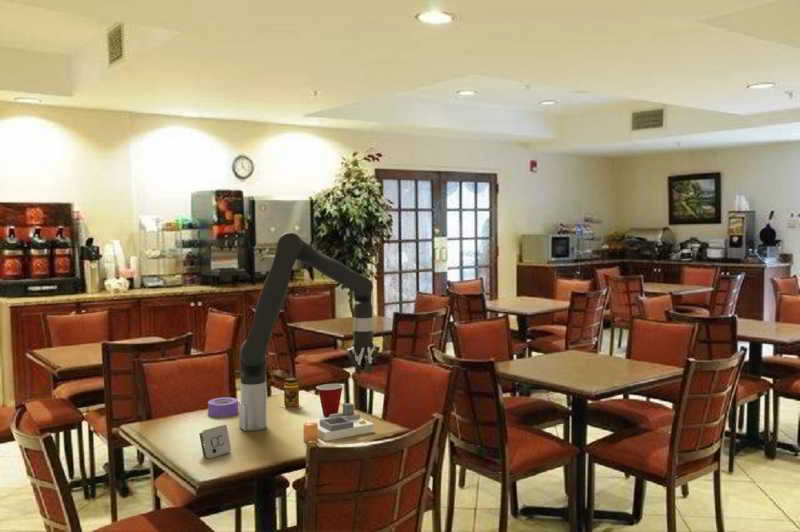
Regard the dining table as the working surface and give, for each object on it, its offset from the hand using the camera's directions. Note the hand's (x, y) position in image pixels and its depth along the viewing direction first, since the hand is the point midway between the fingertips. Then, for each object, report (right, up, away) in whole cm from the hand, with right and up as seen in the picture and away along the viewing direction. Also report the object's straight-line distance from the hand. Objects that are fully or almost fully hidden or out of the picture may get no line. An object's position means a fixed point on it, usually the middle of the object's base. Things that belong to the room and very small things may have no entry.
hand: (363, 373), depth 260 cm
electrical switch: (-47, -21, -35) cm, 63 cm away
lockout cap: (-17, -20, -21) cm, 34 cm away
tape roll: (-57, -19, +15) cm, 62 cm away
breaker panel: (-8, -20, -9) cm, 23 cm away
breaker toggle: (-5, -16, -3) cm, 17 cm away
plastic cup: (-14, -19, +12) cm, 26 cm away
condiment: (-32, -18, +25) cm, 44 cm away
